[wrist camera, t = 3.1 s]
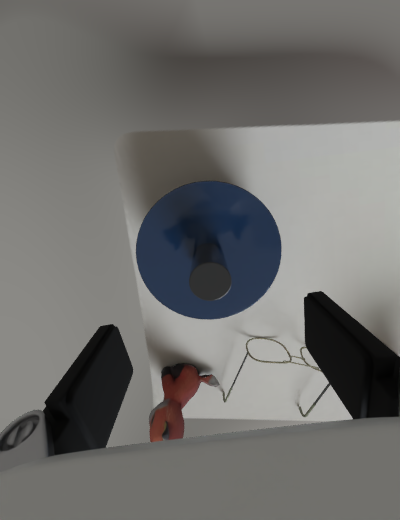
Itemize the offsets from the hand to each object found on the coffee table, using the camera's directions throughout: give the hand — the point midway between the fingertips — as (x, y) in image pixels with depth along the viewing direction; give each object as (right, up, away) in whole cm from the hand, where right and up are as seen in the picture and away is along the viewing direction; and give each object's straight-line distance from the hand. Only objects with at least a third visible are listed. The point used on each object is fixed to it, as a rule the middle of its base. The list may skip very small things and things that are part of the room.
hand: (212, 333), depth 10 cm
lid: (0, +4, +11) cm, 12 cm away
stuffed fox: (-3, -18, +29) cm, 34 cm away
